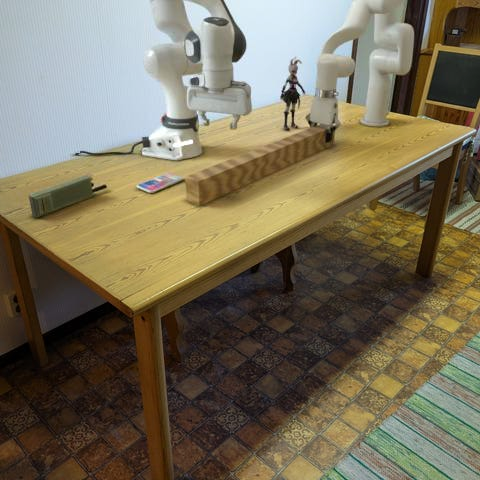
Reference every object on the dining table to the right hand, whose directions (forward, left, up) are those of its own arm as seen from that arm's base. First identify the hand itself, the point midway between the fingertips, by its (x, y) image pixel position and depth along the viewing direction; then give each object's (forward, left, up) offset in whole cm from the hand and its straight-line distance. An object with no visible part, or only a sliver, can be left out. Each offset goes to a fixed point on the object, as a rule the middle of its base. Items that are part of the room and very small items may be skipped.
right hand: (321, 139), depth 197 cm
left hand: (+57, -1, +17) cm, 60 cm away
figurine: (-11, -23, -3) cm, 26 cm away
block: (+32, 0, -3) cm, 32 cm away
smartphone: (+67, -18, -3) cm, 69 cm away
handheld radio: (+94, -27, -3) cm, 98 cm away
